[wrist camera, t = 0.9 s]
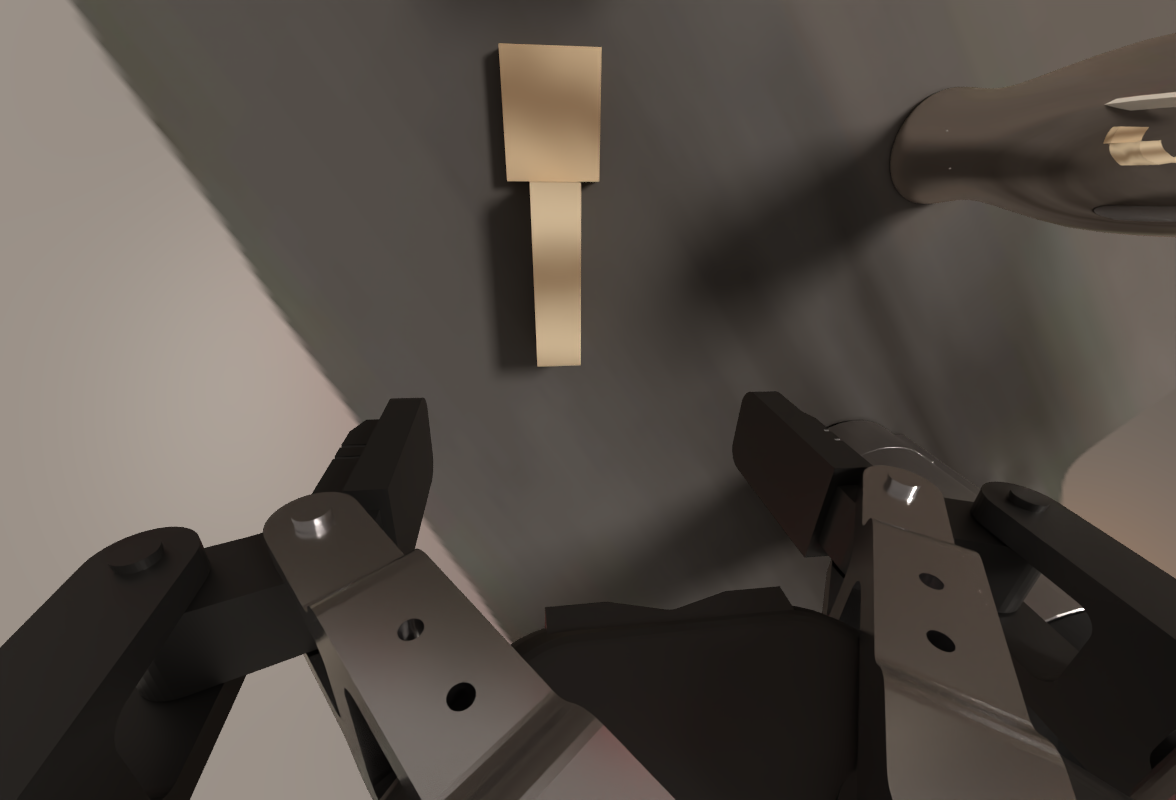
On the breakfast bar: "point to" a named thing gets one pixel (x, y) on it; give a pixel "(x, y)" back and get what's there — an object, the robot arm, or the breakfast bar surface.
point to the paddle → (553, 175)
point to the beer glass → (1055, 144)
